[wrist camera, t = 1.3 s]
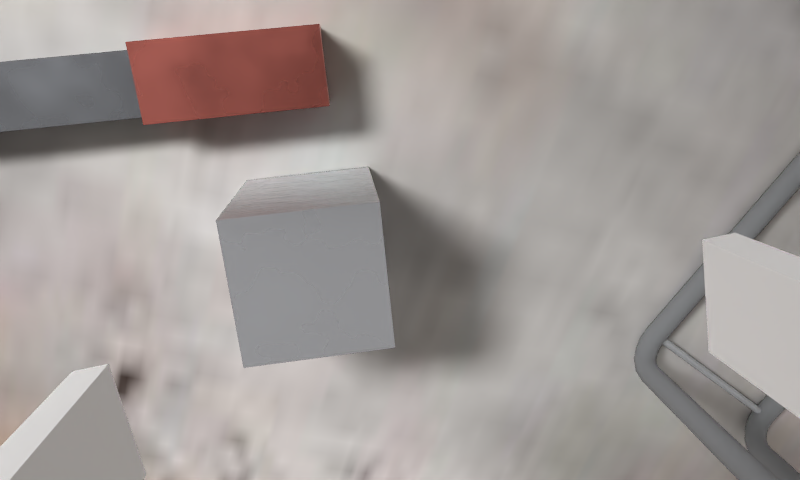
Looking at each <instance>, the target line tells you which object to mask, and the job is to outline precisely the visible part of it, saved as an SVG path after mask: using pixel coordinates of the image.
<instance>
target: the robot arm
mask: <svg viewBox="0 0 800 480" xmlns="http://www.w3.org/2000/svg"><path fill="white" fill-rule="evenodd" d="M702 246H703V263H704V280H705V297H706V314H707V331H708V348H709V353H710V354H712V355H713V356H715V357H716V358H717V359H719V360H720V361H721V362H723V363H724V364H726V365H727V366H728V367H730V368H731V369H732V370H734V371H735V372H736V373H738V374H739V375H741V376H742V377H743V378H745V379H746V380H747V381H749V382H750V383H752V384H753V385H754V386H756V387H757V388H758V389H760V390H761V391H763V392H764V393H765V394H767V395H768V396H769V397H771V398H772V399H773V400H775V401H776V402H778V403H779V404H780V405H782V406H783V407H784V408H786V409H787V410H789V411H790V412H791V413H793V414H794V415H795V416H797V417H798V418H800V257H799V256H796V255H794V254H791V253H788V252H786V251H783V250H780V249H778V248H775V247H772V246H770V245H767V244H764V243H762V242H759V241H756V240H754V239H751V238H748V237H746V236H743V235H740V234H738V233H732V234H727V235H722V236H717V237H712V238H708V239H703V240H702ZM145 476H146V471H145V468H144V465H143V463H142V460H141V457H140V454H139V451H138V448H137V445H136V442H135V439H134V436H133V433H132V431H131V428H130V425H129V422H128V419H127V416H126V413H125V410H124V407H123V404H122V402H121V399H120V396H119V393H118V390H117V387H116V384H115V381H114V378H113V375H112V372H111V370H110V367H109V364H105V365H100V366H95V367H91V368H86V369H81V370H76V371H72V372H71V373H70V374H69V375H68V376H67V377H66V379H65V380H64V381H63V382H62V383H61V384H60V385H59V386H58V387H57V388H56V389H55V390H54V391H53V392H52V393H51V394H50V395H49V396H48V397H47V398H46V399H45V401H44V402H43V403H42V404H41V405H40V406H39V407H38V408H37V409H36V410H35V411H34V412H33V413H32V414H31V415H30V416H29V417H28V418H27V419H26V420H25V421H24V422H23V424H22V425H21V426H20V427H19V428H18V429H17V430H16V431H15V432H14V433H13V434H12V435H11V436H10V437H9V438H8V439H7V440H6V441H5V442H4V443H3V444H2V446H1V447H0V480H144V478H145Z"/></svg>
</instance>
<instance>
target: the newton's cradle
mask: <svg viewBox="0 0 800 480" xmlns="http://www.w3.org/2000/svg"><path fill="white" fill-rule="evenodd" d="M799 187H800V152H799V154H798V155H797V156H796V157H795V158H794V159H793V161H792V162H791V163H790V164H789V165H788V166H787V167H786V169H785V170H784V171H783V172H782V173H781V174H780V176H779V177H778V178H777V179H776V180H775V181H774V182H773V184H772V185H771V186H770V187H769V188H768V189H767V190H766V192H765V193H764V194H763V195H762V196H761V197H760V199H759V200H758V201H757V202H756V203H755V204H754V205H753V207H752V208H751V209H750V210H749V211H748V212H747V214H746V215H745V216H744V217H743V218H742V219H741V220H740V222H739V223H738V224H737V225H736V226H735V227H734V229H733V230H732V231H731V232H730V233H729V234H732V233H738V234H740V235H743V236H746V237H748V238H751V239H755V237H756V236H757V235H758V234H759V233H760V232H761V231H762V229H763V228H764V227H765V226H766V225H767V224H768V223H769V222H770V220H771V219H772V218H773V217H774V216H775V215H776V214H777V212H778V211H779V210H780V209H781V208H782V207H783V206H784V204H785V203H786V202H787V201H788V200H789V199H790V198H791V196H792V195H793V194H794V193H795V192H796V191H797V190H798V188H799ZM704 296H705V280H704V263H703V264H702V265H701V267H700V268H699V269H698V270H697V271H696V272H695V273H694V275H693V276H692V277H691V278H690V279H689V280H688V282H687V283H686V284H685V285H684V286H683V287H682V288H681V290H680V291H679V292H678V293H677V294H676V295H675V297H674V298H673V299H672V300H671V301H670V302H669V303H668V305H667V306H666V307H665V308H664V309H663V310H662V312H661V313H660V314H659V315H658V316H657V317H656V318H655V320H654V321H653V322H652V323H651V324H650V325H649V327H648V328H647V329H646V330H645V332H644V333H643V335H642V336H641V338H640V340H639V342H638V345H637V347H636V351H635V357H634V362H635V368H636V372H637V373H638V375H639V377H640V378H641V380H642V381H643V382H644V383H645V384H646V385H647V386H648V387H649V388H650V389H651V390H652V391H653V392H654V393H655V394H656V395H657V397H658V398H659V399H660V400H661V401H662V402H663V403H664V404H665V405H666V406H667V407H668V408H669V409H670V410H671V411H672V412H673V413H674V414H675V415H676V416H677V417H678V418H679V419H680V420H681V421H682V422H683V423H684V424H685V425H686V426H687V427H688V428H689V429H690V430H691V432H692V433H693V434H694V435H695V436H696V437H697V438H698V439H699V440H700V441H701V442H702V443H703V444H704V445H705V446H706V447H707V448H708V449H709V450H710V451H711V452H712V453H713V454H714V455H715V456H716V457H717V458H718V459H719V460H720V461H721V462H722V463H723V464H724V465H725V467H726V468H727V469H728V470H729V471H730V472H731V473H732V474H733V475H734V476H735V477H736V478H737V479H738V480H800V474H799V473H798V472H797V471H796V470H795V469H794V468H793V467H792V466H790V465H789V464H788V463H787V462H786V461H785V460H784V459H782V458H781V457H780V456H779V455H778V454H777V453H776V452H774V451H773V450H772V449H771V448H770V446H769V445H768V443H767V440H766V437H767V431H768V428H769V426H770V425H771V424H772V422H773V421H774V420H775V419H776V418H777V417H778V416H779V415H780V414H781V412H782V411H783V410H784V409H785V408H784V407H783V406H782V405H780V404H779V403H778V402H776V401H775V400H773V399H772V398H771V397H769V396H768V395H767V396H766V397H765V398H764V399H763V400H762V401H761V402H760V403H759V405H758V406H757V405H756V404H754V403H753V402H752V401H750V400H749V399H748V398H746V397H745V396H744V395H742V394H741V393H739V392H738V391H737V390H735V389H734V388H733V387H731V386H730V385H729V384H727V383H726V382H725V381H723V380H722V379H721V378H719V377H718V376H717V375H715V374H714V373H713V372H711V371H710V370H708V369H707V368H706V367H704V366H703V365H702V364H700V363H699V362H698V361H696V360H695V359H694V358H692V357H691V356H690V355H688V354H687V353H686V352H684V351H683V350H682V349H680V348H679V347H677V346H676V345H675V344H673V343H672V342H671V341H669V340H668V339H667V338H668V337H669V335H670V334H671V333H672V332H673V331H674V330H675V329H676V327H677V326H678V325H679V324H680V323H681V322H682V321H683V320H684V318H685V317H686V316H687V315H688V314H689V313H690V312H691V310H692V309H693V308H694V307H695V306H696V305H697V304H698V302H699V301H700V300H701V299H702V298H703V297H704ZM662 344H663V345H664V346H666V347H667V348H668V349H670V350H671V351H673V352H674V353H675V354H677V355H678V356H679V357H681V358H682V359H683V360H685V361H686V362H687V363H689V364H690V365H692V366H693V367H694V368H696V369H697V370H698V371H700V372H701V373H702V374H704V375H705V376H706V377H708V378H709V379H711V380H712V381H713V382H715V383H716V384H717V385H719V386H720V387H721V388H723V389H724V390H725V391H727V392H728V393H730V394H731V395H732V396H734V397H735V398H736V399H738V400H739V401H740V402H742V403H743V404H744V405H746V406H747V407H749V408H750V409H751V410H753V412H752V413H751V415H750V416H749V418H748V421H747V424H746V426H745V442H746V446H747V449H748V451H749V452H748V451H747V450H746V449H745V448H744V447H743V446H742V445H741V444H740V443H739V442H738V441H737V440H736V439H735V438H733V437H732V436H731V435H730V434H729V433H728V432H727V431H726V430H725V429H724V428H723V427H722V426H721V425H720V424H718V423H717V422H716V421H715V420H714V419H713V418H712V417H711V416H710V415H709V414H708V413H707V412H706V411H705V410H704V409H702V408H701V407H700V406H699V405H698V404H697V403H696V402H695V401H694V400H693V399H692V398H691V397H690V396H689V395H688V394H686V393H685V392H684V391H683V390H682V389H681V388H680V387H679V386H678V385H677V384H676V383H675V382H674V381H673V380H671V379H670V378H669V377H668V376H667V375H666V374H665V373H664V372H663V371H662V370H661V369H660V368H659V367H658V366H657V363H656V358H657V353H658V351H659V348H660V347H661V345H662Z"/></svg>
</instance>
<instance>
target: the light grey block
mask: <svg viewBox="0 0 800 480" xmlns="http://www.w3.org/2000/svg"><path fill="white" fill-rule="evenodd" d="M216 223H217V228H218V234H219V239H220V244H221V250H222V255H223V260H224V266H225V271H226V276H227V282H228V287H229V292H230V298H231V303H232V308H233V314H234V319H235V324H236V330H237V335H238V340H239V346H240V351H241V356H242V362H243V367H244V368H246V367H253V366H261V365H268V364H276V363H283V362H291V361H299V360H306V359H314V358H321V357H329V356H336V355H344V354H351V353H359V352H366V351H374V350H381V349H389V348H395V341H394V331H393V322H392V312H391V303H390V293H389V284H388V275H387V265H386V256H385V246H384V237H383V227H382V218H381V209H380V201H379V198H378V195H377V192H376V188H375V185H374V182H373V179H372V176H371V173H370V170H369V167H363V168H354V169H345V170H336V171H326V172H317V173H308V174H299V175H290V176H281V177H272V178H263V179H254V180H247V181H246V182H245V183H244V185H243V186H242V187H241V188H240V190H239V191H238V192H237V194H236V195H235V196H234V198H233V199H232V200H231V202H230V203H229V204H228V205H227V207H226V208H225V209H224V211H223V212H222V213H221V215H220V216H219V217H218V218H217V220H216Z"/></svg>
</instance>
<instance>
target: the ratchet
mask: <svg viewBox="0 0 800 480" xmlns="http://www.w3.org/2000/svg"><path fill="white" fill-rule="evenodd" d="M126 46H127V50H123V51H112V52H102V53H91V54H80V55H70V56H59V57H49V58H38V59H27V60H17V61H6V62H0V132H4V131H13V130H23V129H33V128H43V127H53V126H63V125H72V124H82V123H92V122H102V121H112V120H121V119H131V118H141V117H142V121H143V125H148V124H158V123H167V122H177V121H187V120H197V119H206V118H216V117H226V116H235V115H245V114H255V113H265V112H274V111H284V110H294V109H304V108H313V107H323V106H329V105H330V99H329V91H328V83H327V75H326V67H325V59H324V51H323V43H322V35H321V27H320V25H319V24H314V25H303V26H292V27H282V28H271V29H260V30H249V31H239V32H228V33H217V34H206V35H196V36H185V37H174V38H163V39H153V40H142V41H131V42H126Z"/></svg>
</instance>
